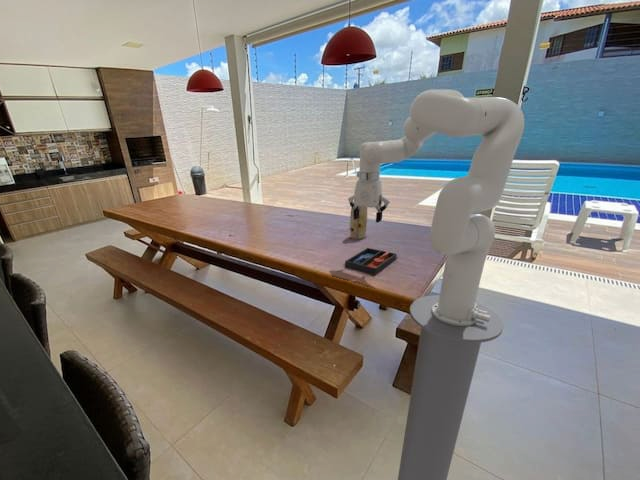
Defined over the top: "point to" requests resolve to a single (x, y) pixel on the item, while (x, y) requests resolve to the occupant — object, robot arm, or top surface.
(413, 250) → the top surface
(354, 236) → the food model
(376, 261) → the terracotta spoon
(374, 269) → the sorting tray
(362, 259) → the blue spoon
